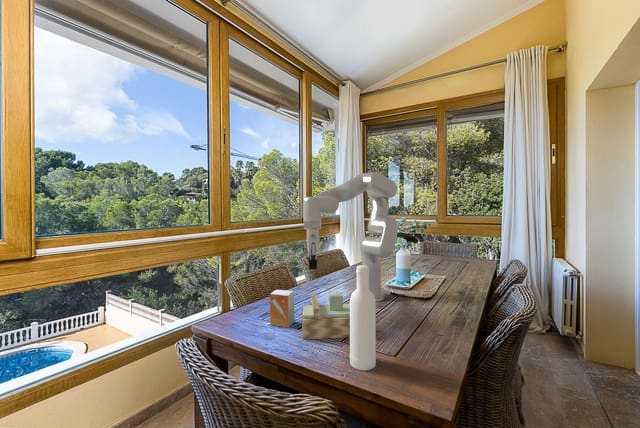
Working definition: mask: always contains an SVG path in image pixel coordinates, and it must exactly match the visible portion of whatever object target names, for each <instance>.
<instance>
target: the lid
mask: <svg viewBox="0 0 640 428" xmlns="http://www.w3.org/2000/svg"><path fill="white" fill-rule="evenodd" d="M302 308H303V319H311V315H313V308H312V305H309V304H307V305H306V304H304V305H302V306H301V309H302ZM319 315H322V318H336V317H350V303H344V295H343V293H329V294H328V304H319Z"/></svg>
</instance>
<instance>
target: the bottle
mask: <svg viewBox="0 0 640 428" xmlns="http://www.w3.org/2000/svg"><path fill="white" fill-rule="evenodd" d="M355 272H356V289H355V290H353V292H351V295H350V299H349V304H350V337H349V364H350V365H351V367H352V368H354V369H356V370H358V371H371V370H372V369H374V368H375V367H376V366H377V365H376V361H377V353H376V352H377V351H376V348H377V347H376V344H377V343H376V341H377V340H376V338H377V337H376V335H377V334H376V333H377V330H376V328H377V327H376V321H377V320H376V316H377V315H376V313H377V312H376V309H377V308H376V305H377V302H376V300H375V297H374V294H373V293H372V292H371V291H370V290H369V267H368V266H365V265H362V264H360V265H357V266H356V270H355Z"/></svg>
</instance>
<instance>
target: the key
mask: <svg viewBox="0 0 640 428" xmlns="http://www.w3.org/2000/svg"><path fill="white" fill-rule="evenodd" d="M318 302H319V300H318V296H317V294H311V303H312V308H313V315H314V317H319V305H320V304H319V305H318Z"/></svg>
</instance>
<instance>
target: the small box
mask: <svg viewBox="0 0 640 428" xmlns="http://www.w3.org/2000/svg"><path fill="white" fill-rule="evenodd" d="M269 311H270V313H269V320H270V323H269V325H270V326H274V327H275V326H277V327H283V328H287V329H288V328H290V327H291V326H292V325H293V323H294V322H295V291H294V290H289V289H287V290H286V289H275V290H273V291H272V292H271V293H269Z"/></svg>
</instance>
